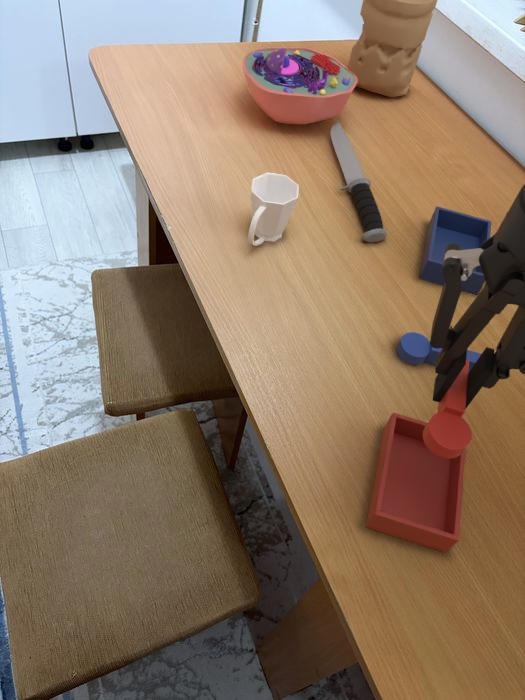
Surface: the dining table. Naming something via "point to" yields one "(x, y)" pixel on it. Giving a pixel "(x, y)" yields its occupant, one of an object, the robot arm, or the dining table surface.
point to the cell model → (298, 83)
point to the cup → (271, 206)
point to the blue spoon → (424, 350)
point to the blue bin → (447, 231)
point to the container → (390, 44)
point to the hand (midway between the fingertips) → (449, 394)
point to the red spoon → (450, 421)
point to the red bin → (416, 488)
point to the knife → (358, 185)
